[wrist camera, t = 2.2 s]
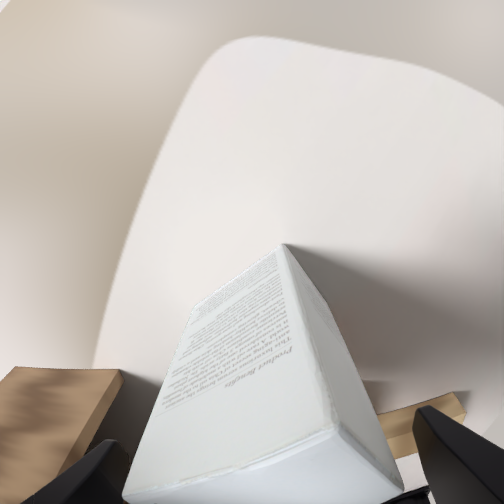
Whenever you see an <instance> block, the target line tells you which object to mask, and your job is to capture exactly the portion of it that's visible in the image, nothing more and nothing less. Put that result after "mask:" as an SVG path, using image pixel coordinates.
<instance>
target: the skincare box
mask: <svg viewBox="0 0 504 504" xmlns="http://www.w3.org/2000/svg"><path fill="white" fill-rule="evenodd" d="M403 492H404V484H403V481H402V478H401V475H400V473H399V470H398V468H397V465H396V462H395V460H394V457H393V455H392V452H391V450H390V447H389V445H388V442H387V440H386V437H385V435H384V432H383V430H382V428H381V425H380V423H379V420H378V418H377V415H376V413H375V411H374V408H373V406H372V403H371V401H370V399H369V396H368V394H367V392H366V390H365V387H364V385H363V382H362V380H361V378H360V376H359V373H358V371H357V369H356V366H355V364H354V362H353V360H352V357H351V355H350V353H349V350H348V348H347V346H346V344H345V341H344V339H343V337H342V335H341V333H340V330H339V328H338V326H337V324H336V322H335V319H334V317H333V315H332V313H331V311H330V309H329V306H328V304H327V302H326V301H325V299H324V298H323V297H322V295H321V294H320V292H319V291H318V290H317V288H316V287H315V285H314V284H313V283H312V281H311V280H310V278H309V277H308V276H307V274H306V273H305V271H304V270H303V268H302V267H301V266H300V264H299V263H298V261H297V260H296V259H295V257H294V256H293V255H292V253H291V252H290V251H289V249H288V248H287V247H286V246H285V245H284V244H280V245H279V246H278V247H276V248H275V249H274V250H272V251H271V252H269V253H268V254H267V255H265V256H264V257H262V258H261V259H260V260H258V261H257V262H255V263H254V264H253V265H251V266H250V267H248V268H247V269H246V270H244V271H243V272H241V273H240V274H239V275H237V276H236V277H234V278H233V279H232V280H230V281H229V282H227V283H226V284H225V285H223V286H222V287H220V288H219V289H218V290H216V291H215V292H213V293H212V294H211V295H209V296H208V297H206V298H205V299H204V300H202V301H201V302H199V303H198V304H196V305H195V306H194V308H193V310H192V313H191V315H190V318H189V320H188V322H187V325H186V327H185V330H184V332H183V334H182V337H181V339H180V342H179V344H178V347H177V350H176V352H175V355H174V357H173V360H172V362H171V365H170V367H169V370H168V372H167V374H166V377H165V380H164V382H163V385H162V387H161V390H160V392H159V395H158V398H157V400H156V402H155V405H154V408H153V410H152V413H151V416H150V418H149V421H148V423H147V426H146V428H145V431H144V434H143V436H142V439H141V441H140V444H139V446H138V449H137V452H136V454H135V457H134V460H133V463H132V466H131V469H130V472H129V474H128V477H127V480H126V483H125V486H124V489H123V492H122V498H123V499H124V500H125V501H127V502H128V503H130V504H381V503H383V502H385V501H388V500H390V499H392V498H394V497H396V496H398V495H400V494H402V493H403Z"/></svg>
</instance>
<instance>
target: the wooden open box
mask: <svg viewBox="0 0 504 504" xmlns="http://www.w3.org/2000/svg"><path fill="white" fill-rule="evenodd" d="M123 382H124V379H123V377H122V375H121V373H120V371H119V369H89V370H88V369H85V370H84V369H50V368H32V367H31V368H30V367H14V368H13V369H12V370H11V372H9V373H8V374H7V375H6V377H4V379H3V380H2V381H1V382H0V504H20V503H21V502H23V501H24V500H26V499H27V498H28V497H30V496H31V495H34V493H35V492H37V491H38V490H40V489H41V488H42V487H44V486H45V485H46V484H48V483H49V482H51V481H52V480H53V479H55V478H56V477H57V476H59V475H60V474H61V473H63V472H64V471H65V470H67V469H68V468H69V467H70V466H72V465H73V464H74V463H76V462H77V461H78V460H80V459H81V458H82V457H83V456H84V454H85V452H86V450H87V448H88V446H89V444H90V442H91V441H92V439H93V437H94V435H95V433H96V431H97V429H98V427H99V426H100V424H101V422H102V420H103V418H104V416H105V415H106V413H107V411H108V409H109V407H110V406H111V404H112V402H113V400H114V398H115V397H116V395H117V393H118V391H119V389H120V388H121V386H122V384H123ZM123 504H130V503H128V502H127V501H125V500H124V502H123Z"/></svg>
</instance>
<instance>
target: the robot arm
mask: <svg viewBox="0 0 504 504" xmlns="http://www.w3.org/2000/svg"><path fill="white" fill-rule="evenodd" d="M412 432H413V436H414V439H415V443H416V446H417V450H418V453H419V457H420V460H421V464H422V468H423V471H424V474H425V477H426V479H427V482H428V484H429V486H427V487H424V488H422V489H419V490H416V491H413V492H410V493H407V494H404V495H401V496H398V497H394V498H392V499H390V500H388V501H385V502H383V503H381V504H430V501H429V499H428V494H429V492H430V490H431V492H432V494H433V497H434V499H435V502H436V504H504V449H502V448H500V447H498V446H497V445H495V444H493V443H491V442H490V441H488V440H486V439H485V438H483V437H482V436H480V435H478V434H477V433H475V432H473V431H472V430H470V429H468V428H467V427H465V426H463V425H462V424H460V423H458V422H457V421H455V420H454V419H452V418H450V417H449V416H447V415H445V414H444V413H442V412H441V411H439V410H437V409H436V408H434V407H433V406H431V405H425V406H422V407H419V408H417V409H416V411H415V415H414V420H413V425H412ZM128 466H129V457H128V455H127V453H126V452H125V450H124V449H123V447H122V446H121V444H120V443H119V442H118V441H117V440H111V439H106V440H104V441H103V442H101V443H100V444H99V445H98V446H96V447H95V448H94V449H92V450H91V451H90V452H89V453H87V454H86V455H85V456H83V457H82V458H81V459H80V460H78V461H77V462H76V463H74V464H73V465H72V466H70V467H69V468H68V469H67V470H65V471H64V472H63V473H61V474H60V475H59V476H57V477H56V478H55V479H53V480H52V481H51V482H49V483H48V484H46V485H45V486H44V487H42V488H41V489H40V490H38V491H37V492H35V493H34V495H31V496H30V497H28V498H27V499H26V500H24V501H23V502H21V503H20V504H123V502H124V499H123V498H122V492H123V489H124V486H125V483H126V480H127V473H128Z"/></svg>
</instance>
